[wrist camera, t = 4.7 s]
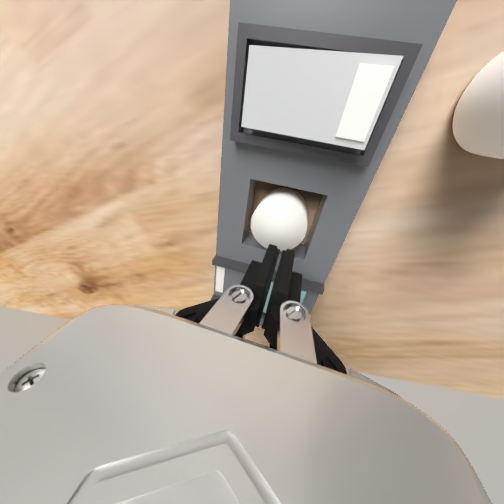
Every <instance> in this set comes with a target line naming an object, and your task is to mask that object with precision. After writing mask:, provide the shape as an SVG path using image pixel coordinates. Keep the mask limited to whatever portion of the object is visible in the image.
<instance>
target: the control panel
mask: <svg viewBox="0 0 504 504" xmlns="http://www.w3.org/2000/svg"><path fill="white" fill-rule="evenodd" d="M456 1H457V0H230V17H229V34H228V52H227V70H226V88H225V105H224V123H223V141H222V159H221V176H220V194H219V212H218V230H217V247H216V256H215V257H214V259H213V260H212V265H215V283H214V295H213V297H212V298H211V300H215V299H218V298H220V297H221V296H222V295H223V294H224V293H225V291H226V290H227V289H228V288H229V287H231V286H233V285H240V283H241V281H242V279H243V277H244V275H245V273H246V271H247V269H248V267H249V265H250V263H251V261H252V260H254V261H258V262H261V263H262V261H263V258H264V256H265V253H266V251H267V248H265V247H263V246H262V245H261V244H260V243H258V241H257V240H256V239H255V237H254V236H253V234H252V232H249V226H250V219H251V213H252V206H253V200H254V193H255V187H256V180H258V181H263V182H267V183H272V184H277V185H281V186H286V187H291V188H295V189H300V190H305V191H309V192H314V193H319V194H322V197H321V200H320V203H319V206H318V209H317V212H316V215H315V217H314V220H313V223H312V226H311V229H310V232H309V235H308V237H307V240H306V243H305V245H301V244H299V245H298V246H296V247H295V248H293V249H290V250H294V251H295V256H294V263H293V269H292V271H293V272H297V273H300V274H302V287H301V289H304V290H306V295H305V297H304V300H303V302H302V305H303V306H305V307H306V309H307V310H308V312H309V314H310V312H311V309H312V307H313V305H314V303H315V301H316V299H317V297H318V295H319V294H323V292H324V282H325V280H326V278H327V275H328V273H329V271H330V269H331V267H332V265H333V263H334V261H335V258H336V256H337V254H338V252H339V250H340V248H341V246H342V243H343V241H344V239H345V237H346V235H347V233H348V231H349V229H350V226H351V224H352V222H353V220H354V218H355V216H356V214H357V212H358V209H359V207H360V205H361V203H362V201H363V199H364V197H365V195H366V192H367V190H368V188H369V186H370V184H371V182H372V180H373V178H374V175H375V173H376V171H377V169H378V167H379V165H380V163H381V161H382V158H383V156H384V154H385V152H386V150H387V148H388V146H389V144H390V141H391V139H392V137H393V135H394V133H395V131H396V129H397V127H398V124H399V122H400V120H401V118H402V116H403V114H404V112H405V110H406V107H407V105H408V103H409V101H410V99H411V97H412V95H413V93H414V90H415V88H416V86H417V84H418V82H419V80H420V78H421V76H422V73H423V71H424V69H425V67H426V65H427V63H428V61H429V59H430V56H431V54H432V52H433V50H434V48H435V46H436V44H437V42H438V39H439V37H440V35H441V33H442V31H443V29H444V27H445V25H446V22H447V20H448V18H449V16H450V14H451V12H452V10H453V8H454V5H455V3H456ZM249 45H257V46H271V47H285V48H299V49H313V50H327V51H341V52H356V53H370V54H384V55H398V56H403V59H402V61H401V63H400V66H399V68H398V71H397V73H396V75H395V78H394V80H393V83H392V85H391V87H390V90H389V92H388V95H387V97H386V99H385V102H384V104H383V107H382V109H381V112H380V114H379V116H378V119H377V121H376V124H375V126H374V128H373V131H372V133H371V136H370V138H369V140H368V143H367V145H366V148H365V150H360V149H355V148H350V147H345V146H340V145H334V144H329V143H324V142H319V141H313V140H308V139H303V138H298V137H293V136H287V135H282V134H277V133H272V132H266V131H261V130H256V129H251V128H246V127H241V125H242V114H243V104H244V94H245V84H246V74H247V64H248V54H249ZM282 252H283V251H280V252H279V256H278V259H277V263H276V267H275V271H274V274H273V278H272V281H274V280H275V277H276V273H277V269H278V266H279V262H280V259H281V255H282ZM264 317H265V313H264V312H263V313H262V317H261V320H260V324H259V325H262V324H263V321H264Z"/></svg>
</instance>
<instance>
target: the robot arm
mask: <svg viewBox="0 0 504 504" xmlns="http://www.w3.org/2000/svg"><path fill="white" fill-rule="evenodd" d="M277 247H278V246H275V245H272V244H269V246H268V248H267V251H266V253H265V256H264V258H263V261H262V263H261V262H258V261H254V260H252V261H251V263H250V265H249V267H248V269H247V271H246V273H245V275H244V277H243V279H242V281H241V283H240V285H233V286H231V287H229V288H228V289H227V290H226V291H225V293H224V294H223V295H222V296H221V297H220V298H218V299H215V300H211V301H208V302H205V303H201V304H198V305H195V306H191V307H188V308H185V309H183V310H180V311H179V312H178V311H175V309H171V308H163V307H154V306H145V305H127V304H115V305H104V306H99V307H95V308H92V309H90V310H88V311H86V312H84V313H82V314H80V315H78V316H77V317H75V318H74V319H72V320H71V321H69V322H68V323H66V324H65V325H63V326H62V327H60V328H59V329H58V330H56V331H55V332H53V333H52V334H51V335H49V336H48V337H47V338H46V339H44V340H43V341H41V342H40V343H39V344H38V345H36V346H35V347H34V348H32V349H31V350H30V351H28V352H27V353H26V354H25V355H23V356H22V357H21V358H19V359H18V360H17V361H16V362H14V364H12V365H11V366H9V367H8V368H7V369H6V370H5V371H3V372H2V373H1V374H0V504H492V503H491V501H490V499H489V497H488V495H487V493H486V491H485V489H484V487H483V486H482V483H481V482H480V480H479V478H478V477H477V474H476V473H475V471H474V469H473V467H472V466H471V464H470V462H469V460H468V459H467V457H466V456H465V454H464V453H463V451H462V450H461V448H460V447H459V445H458V444H457V443H456V441H455V440H454V439H453V438H452V437H451V436H450V434H449V433H448V432H447V431H446V430H445V429H444V428H443V427H441V426H440V425H439V424H438V423H437V422H435V421H434V420H433V419H432V418H431V417H429V416H428V415H427V414H425V413H424V412H422V411H421V410H420V409H418V408H417V407H415V406H414V405H412V404H411V403H409V402H407V401H405V400H404V399H402V398H401V397H400V396H398V395H397V394H396V393H394V392H392V391H390V390H389V389H387V388H385V387H383V386H381V385H380V384H378V383H376V382H374V381H372V380H371V379H369V378H367V377H365V376H363V375H362V374H360V373H358V372H356V371H355V370H353V369H350V370H348V369H346V368H345V366H344V365H343V363H342V362H341V361H340V359H339V358H338V357H337V356H336V355H335V354H334V352H333V351H332V350H331V349H330V348H329V347H328V346H327V344H326V343H325V342H324V341H323V340H322V339H321V337H320V336H319V335H318V334H317V333H316V332H315V330H314V329H313V328H312V327H311V322H310V315H309V312H308V310H307V309H306V307H305V306H303V305H302V304H300V298H301V287H302V274H300V273H297V272H293V271H292V269H293V263H294V256H295V251H294V250H290V249H287V250H286V251H285V250H283V252H282V255H281V259H280V262H279V266H278V269H277V273H276V277H275V280H274V284H273V287H272V291H271V295H270V298H269V302H268V306H267V309H266V313H265V317H264V321H263V324H262V328H263V329H265V331H264V336H265V337H266V339H267V340H268V342H269V343H268V347H266V346H264V345H261V344H258V343H255V342H252V341H249V340H246V339H244V338H245V335H246V334H247V333H250V332H252V331H254V327H255V326H257V327H259V324H260V320H261V317H262V313H263V310H264V306H265V303H266V299H267V296H268V292H269V289H270V285H271V282H272V278H273V274H274V271H275V267H276V263H277V259H278V256H279V252H280V249H278V248H277Z"/></svg>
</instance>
